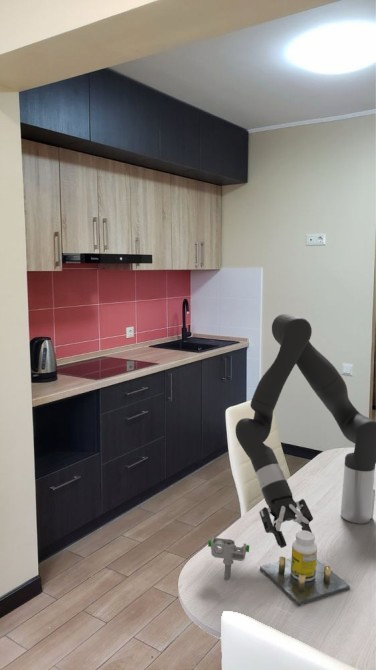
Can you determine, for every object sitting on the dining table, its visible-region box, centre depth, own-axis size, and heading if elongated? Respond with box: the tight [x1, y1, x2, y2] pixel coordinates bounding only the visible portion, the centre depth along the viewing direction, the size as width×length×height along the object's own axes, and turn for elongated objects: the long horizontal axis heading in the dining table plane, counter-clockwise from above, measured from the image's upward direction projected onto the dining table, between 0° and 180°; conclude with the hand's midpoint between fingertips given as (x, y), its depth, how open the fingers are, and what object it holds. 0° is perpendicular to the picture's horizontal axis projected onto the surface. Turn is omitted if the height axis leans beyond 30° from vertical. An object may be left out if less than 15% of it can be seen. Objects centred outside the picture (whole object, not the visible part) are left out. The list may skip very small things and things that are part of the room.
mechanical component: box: [207, 536, 250, 582], centre depth 132 cm, size 3×10×10 cm, turn 78°
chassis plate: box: [259, 556, 351, 607], centre depth 134 cm, size 16×16×4 cm
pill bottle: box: [291, 529, 318, 581], centre depth 133 cm, size 6×6×11 cm
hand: (297, 543), depth 136 cm, fingers open, 8 cm apart
